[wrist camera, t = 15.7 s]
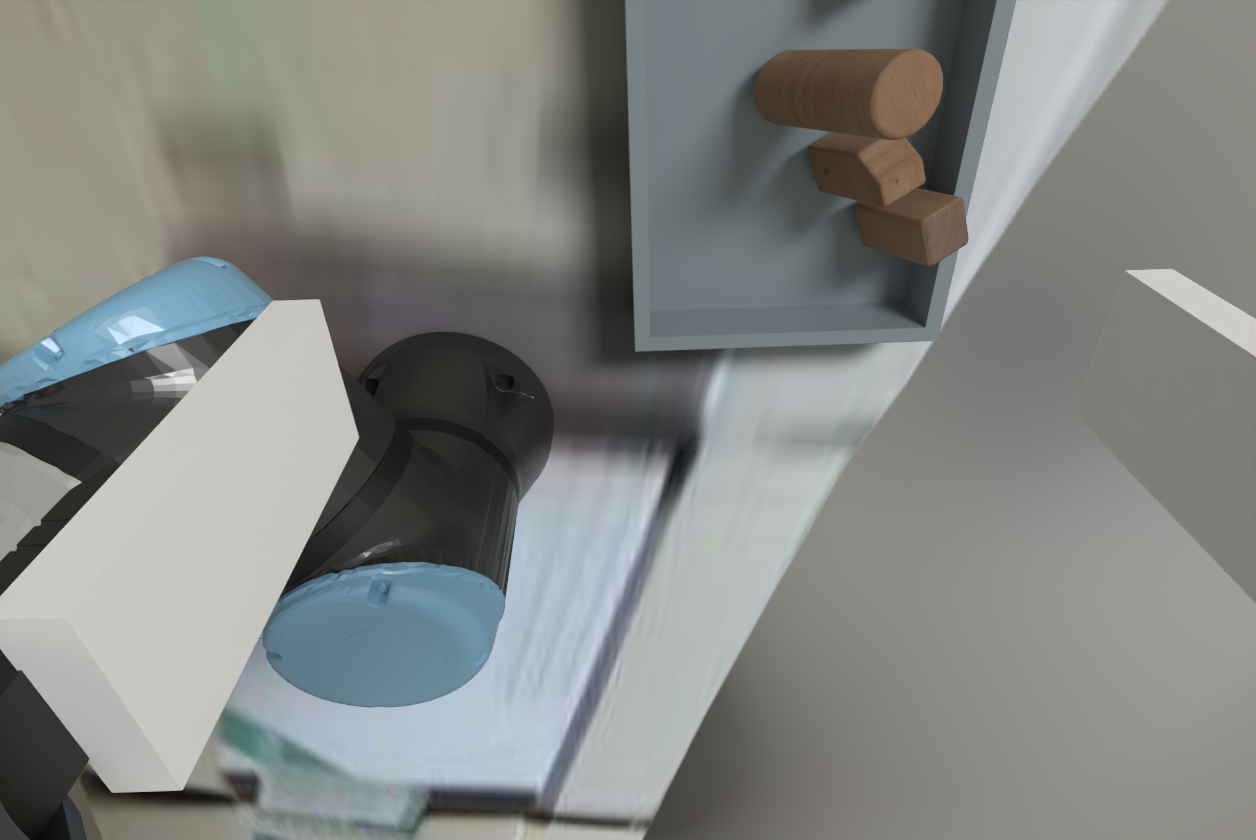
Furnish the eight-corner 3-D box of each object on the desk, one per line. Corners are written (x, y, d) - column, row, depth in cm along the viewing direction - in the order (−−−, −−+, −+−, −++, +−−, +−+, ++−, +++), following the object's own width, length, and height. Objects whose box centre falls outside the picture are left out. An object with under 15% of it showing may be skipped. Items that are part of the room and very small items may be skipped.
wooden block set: (901, 206, 50) (1030, 237, 41) (799, 269, 48) (910, 315, 40) (847, -95, 39) (1003, -136, 31) (716, -25, 38) (841, -47, 30)
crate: (633, 318, 52) (635, 351, 48) (618, -186, 37) (619, -201, 33) (911, 308, 52) (937, 340, 48) (1014, -200, 37) (1066, -217, 33)
